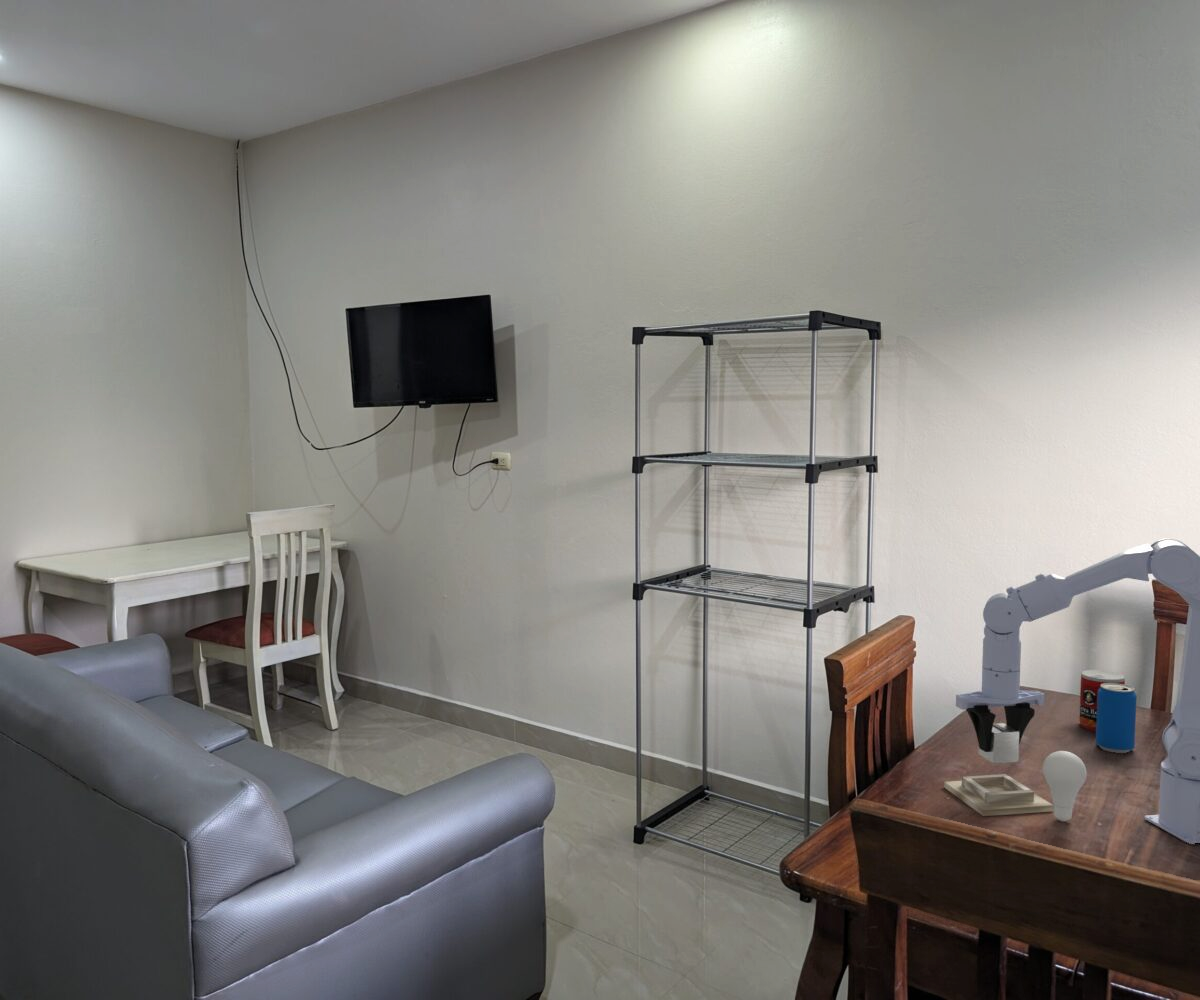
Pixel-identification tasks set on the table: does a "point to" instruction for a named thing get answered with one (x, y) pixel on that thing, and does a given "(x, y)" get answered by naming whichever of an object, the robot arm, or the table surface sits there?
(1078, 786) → the lightbulb
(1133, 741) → the beverage can
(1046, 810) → the beige square tray
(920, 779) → the table surface
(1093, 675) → the canned food
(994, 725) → the block
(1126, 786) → the table surface
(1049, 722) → the table surface
